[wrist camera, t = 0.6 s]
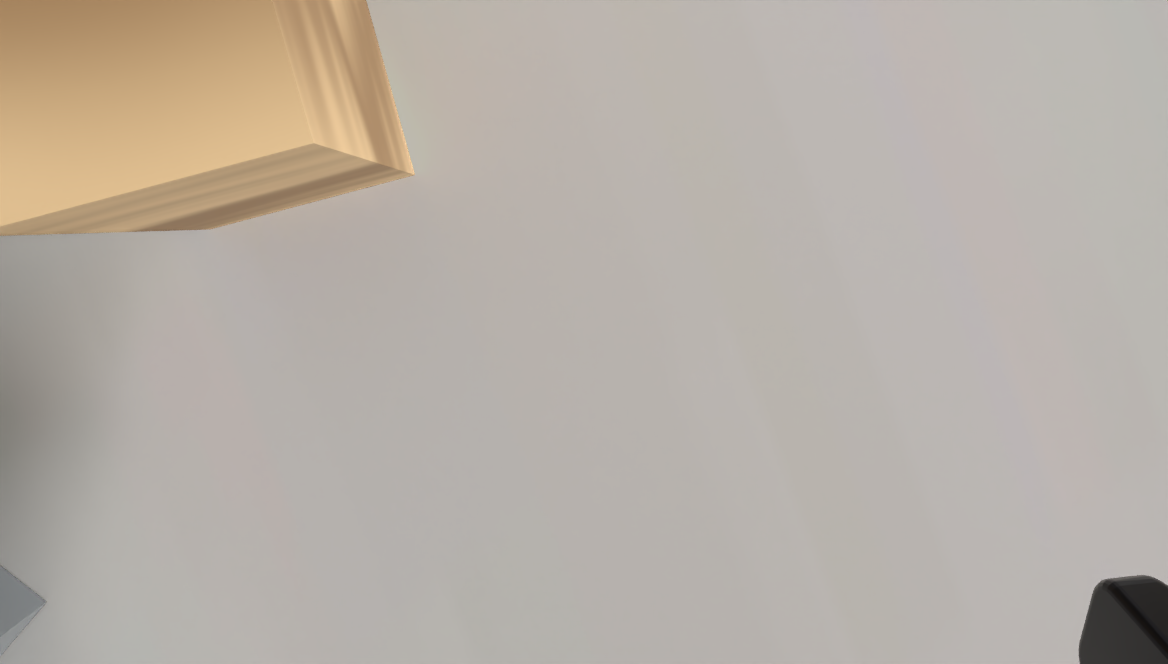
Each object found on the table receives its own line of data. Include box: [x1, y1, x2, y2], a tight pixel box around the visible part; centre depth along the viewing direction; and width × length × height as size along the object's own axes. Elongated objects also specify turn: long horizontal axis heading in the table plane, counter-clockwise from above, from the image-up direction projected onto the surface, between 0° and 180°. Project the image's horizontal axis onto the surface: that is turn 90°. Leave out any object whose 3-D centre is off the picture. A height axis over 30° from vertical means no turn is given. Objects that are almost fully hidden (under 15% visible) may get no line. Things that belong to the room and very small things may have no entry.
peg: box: [0, 0, 415, 236], centre depth 17 cm, size 4×4×9 cm
